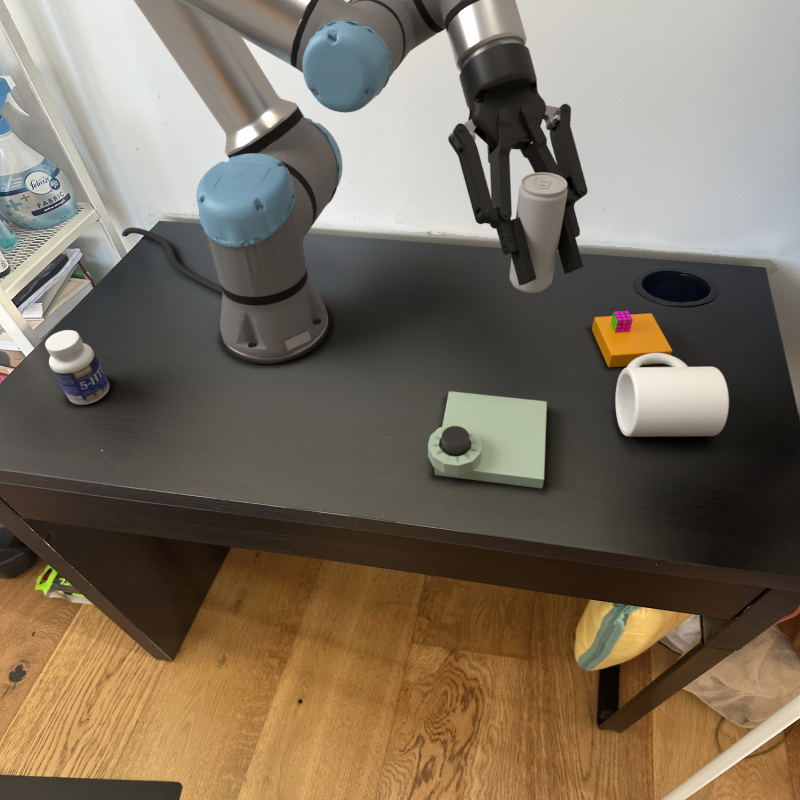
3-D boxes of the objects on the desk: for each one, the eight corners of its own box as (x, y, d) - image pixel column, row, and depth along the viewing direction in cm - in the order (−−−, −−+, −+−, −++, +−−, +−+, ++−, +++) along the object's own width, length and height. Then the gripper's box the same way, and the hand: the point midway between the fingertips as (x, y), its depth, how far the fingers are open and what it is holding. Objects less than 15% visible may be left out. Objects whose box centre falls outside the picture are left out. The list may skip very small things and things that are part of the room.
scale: (425, 480, 70) (424, 461, 68) (441, 399, 79) (441, 379, 77) (541, 495, 68) (546, 476, 66) (545, 410, 77) (548, 390, 75)
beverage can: (554, 274, 72) (571, 174, 63) (548, 298, 69) (565, 197, 60) (512, 267, 73) (524, 169, 65) (504, 291, 70) (515, 191, 61)
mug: (713, 450, 72) (737, 401, 66) (625, 450, 72) (641, 402, 67) (683, 378, 80) (702, 329, 75) (604, 379, 81) (617, 331, 75)
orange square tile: (647, 325, 88) (655, 300, 85) (668, 363, 82) (677, 338, 79) (591, 329, 88) (596, 304, 85) (608, 367, 82) (614, 343, 79)
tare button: (439, 454, 69) (439, 444, 68) (443, 434, 71) (443, 424, 70) (467, 458, 68) (467, 447, 67) (470, 437, 70) (470, 427, 69)
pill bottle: (94, 409, 80) (65, 357, 74) (60, 402, 82) (29, 350, 75) (118, 381, 84) (93, 329, 78) (85, 375, 85) (57, 323, 79)
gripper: (551, 66, 71) (604, 265, 72) (404, 92, 67) (462, 302, 68) (585, 26, 64) (643, 248, 65) (422, 52, 60) (487, 288, 61)
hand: (550, 275), depth 66 cm, fingers closed on beverage can, 5 cm apart
